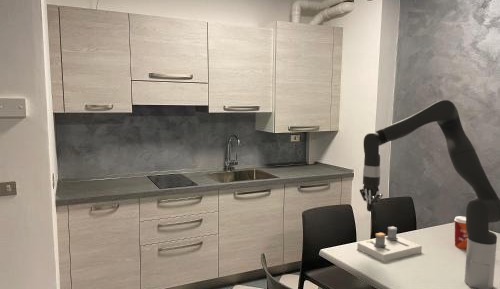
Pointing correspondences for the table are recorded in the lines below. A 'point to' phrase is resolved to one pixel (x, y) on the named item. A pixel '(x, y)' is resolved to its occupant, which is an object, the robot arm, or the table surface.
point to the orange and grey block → (380, 240)
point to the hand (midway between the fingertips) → (370, 211)
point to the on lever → (392, 233)
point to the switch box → (390, 248)
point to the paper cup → (460, 232)
